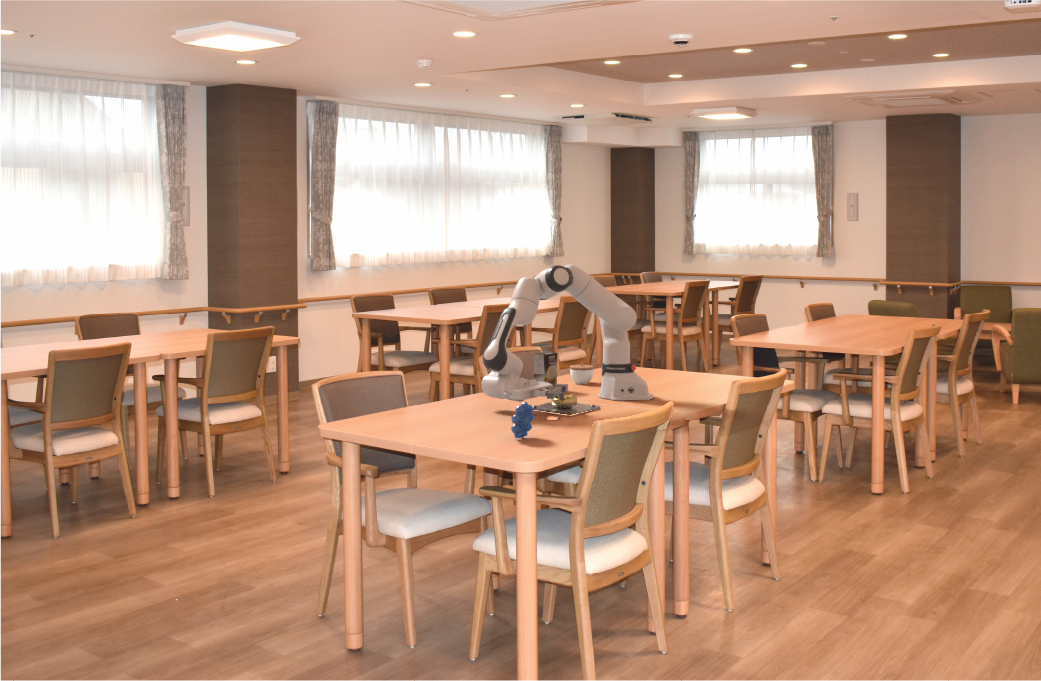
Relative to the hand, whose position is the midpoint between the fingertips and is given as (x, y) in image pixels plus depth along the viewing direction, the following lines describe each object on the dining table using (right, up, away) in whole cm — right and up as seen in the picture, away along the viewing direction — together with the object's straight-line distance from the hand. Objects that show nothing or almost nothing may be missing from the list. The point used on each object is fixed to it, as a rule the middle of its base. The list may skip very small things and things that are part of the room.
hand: (548, 393), depth 353 cm
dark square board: (+6, -7, +17) cm, 20 cm away
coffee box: (+1, -2, +63) cm, 63 cm away
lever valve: (+4, -6, +8) cm, 11 cm away
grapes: (-10, -13, -34) cm, 38 cm away
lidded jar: (+17, 0, +82) cm, 84 cm away
